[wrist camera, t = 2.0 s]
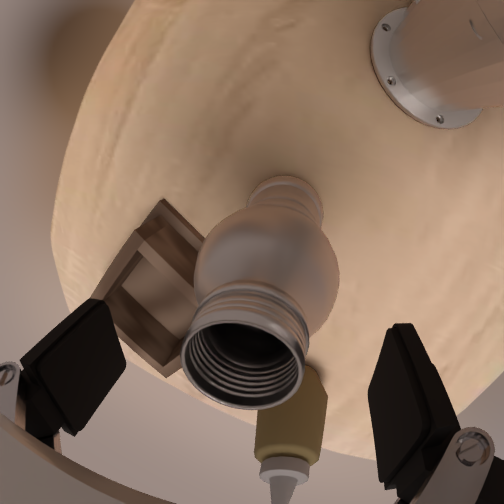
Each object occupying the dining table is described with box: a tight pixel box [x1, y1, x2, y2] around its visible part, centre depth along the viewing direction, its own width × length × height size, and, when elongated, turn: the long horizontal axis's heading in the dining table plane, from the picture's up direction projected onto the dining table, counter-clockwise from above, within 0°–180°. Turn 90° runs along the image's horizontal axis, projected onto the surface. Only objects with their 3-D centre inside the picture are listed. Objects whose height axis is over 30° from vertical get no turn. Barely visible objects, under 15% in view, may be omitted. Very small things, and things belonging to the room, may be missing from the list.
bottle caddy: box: [90, 199, 205, 378], centre depth 28 cm, size 14×14×6 cm
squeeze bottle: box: [254, 365, 328, 504], centre depth 25 cm, size 8×8×18 cm
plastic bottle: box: [180, 175, 340, 410], centre depth 17 cm, size 6×7×20 cm
